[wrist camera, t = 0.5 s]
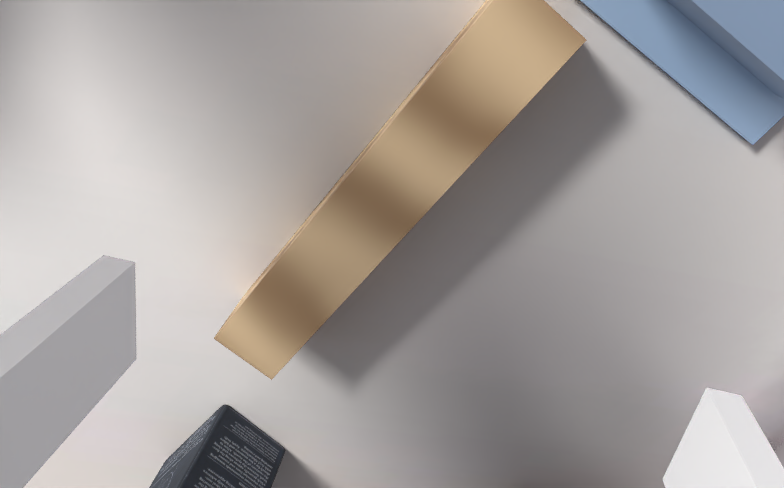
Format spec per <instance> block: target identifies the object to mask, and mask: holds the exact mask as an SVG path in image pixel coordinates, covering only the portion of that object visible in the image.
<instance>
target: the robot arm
mask: <svg viewBox="0 0 784 488" xmlns="http://www.w3.org/2000/svg"><path fill="white" fill-rule="evenodd" d="M135 360H136V297H135V262H132V261H127V260H123V259H118V258H113V257H109V256H104V255H103V256H102V257H101V258H99V259H98V260H97V261H95V262H94V263H93V264H92V265H90V266H89V267H88V268H86V269H85V270H84V271H83V272H81V273H80V274H79V275H77V276H76V277H75V278H73V279H72V280H71V281H70V282H68V283H67V284H66V285H64V286H63V287H62V288H60V289H59V290H58V291H57V292H55V293H54V294H53V295H51V296H50V297H49V298H48V299H46V300H45V301H44V302H42V303H41V304H40V305H38V306H37V307H36V308H35V309H33V310H32V311H31V312H29V313H28V314H27V315H25V316H24V317H23V318H22V319H20V320H19V321H18V322H16V323H15V324H14V325H12V326H11V327H10V328H9V329H7V330H6V331H5V332H3V333H2V334H1V335H0V488H23V487H24V486H25V485H26V484H27V483H28V481H29V480H30V479H31V478H32V477H33V476H34V475H35V474H36V472H37V471H38V470H39V469H40V468H41V467H42V466H43V464H44V463H45V462H46V461H47V460H48V459H49V458H50V456H51V455H52V454H53V453H54V452H55V451H56V450H57V449H58V447H59V446H60V445H61V444H62V443H63V442H64V441H65V439H66V438H67V437H68V436H69V435H70V434H71V433H72V431H73V430H74V429H75V428H76V427H77V426H78V425H79V424H80V422H81V421H82V420H83V419H84V418H85V417H86V416H87V414H88V413H89V412H90V411H91V410H92V409H93V408H94V406H95V405H96V404H97V403H98V402H99V401H100V400H101V399H102V397H103V396H104V395H105V394H106V393H107V392H108V391H109V389H110V388H111V387H112V386H113V385H114V384H115V383H116V381H117V380H118V379H119V378H120V377H121V376H122V375H123V374H124V372H125V371H126V370H127V369H128V368H129V367H130V366H131V364H132V363H133V362H134V361H135ZM663 482H664V485H665V488H784V468H783V466H782V464H781V463H780V461H779V459H778V457H777V456H776V454H775V452H774V450H773V449H772V447H771V445H770V443H769V442H768V440H767V438H766V437H765V435H764V433H763V431H762V430H761V428H760V426H759V424H758V423H757V421H756V419H755V418H754V416H753V414H752V412H751V411H750V409H749V407H748V405H747V404H746V402H745V400H744V398H743V397H742V395H738V394H734V393H729V392H725V391H720V390H716V389H711V388H706V389H705V391H704V394H703V396H702V398H701V400H700V402H699V404H698V406H697V408H696V410H695V412H694V414H693V417H692V419H691V421H690V423H689V425H688V427H687V429H686V431H685V433H684V435H683V437H682V439H681V442H680V444H679V446H678V448H677V450H676V452H675V454H674V456H673V458H672V460H671V462H670V465H669V467H668V469H667V471H666V473H665V475H664V477H663Z"/></svg>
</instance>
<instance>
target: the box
mask: <svg viewBox="0 0 784 488" xmlns="http://www.w3.org/2000/svg"><path fill="white" fill-rule="evenodd" d="M284 452H285V449H284V448H283V447H282V446H281V445H279V444H278V443H277V442H276V441H274V440H273V439H272V438H270V437H269V436H267V435H266V434H265V433H264V432H262V431H261V430H260V429H258V428H257V427H256V426H254V425H253V424H252V423H250V422H249V421H248V420H246V419H245V418H244V417H242V416H241V415H240V414H238V413H237V412H236V411H234V410H233V409H232V408H230V407H229V406H227V405H223V406H221V407H220V408H219V409H218V410H217V411H216V412H215V413H214V414H213V415H212V416H211V417H210V418H209V419H208V420H207V421H206V422H205V423H204V424H203V425H202V426H201V427H200V428H198V430H196V431H195V432H194V433H193V434H192V435H191V436H190V437H189V438H188V439H187V440H186V441H185V442H184V443H183V444H182V445H181V446H180V447H179V448H178V449H177V450H176V451H175V452H174V453H173V454H172V455H171V456H170V457H169V458H168V459H167V460H166V461H165V462H164V464H163V466H162V467H161V469H160V471H159V472H158V474H157V476H156V477H155V479H154V481H153V482H152V484H151V486H150V487H149V488H271V487H272V483H273V481H274V479H275V476H276V473H277V471H278V468H279V465H280V463H281V460H282V458H283V455H284Z"/></svg>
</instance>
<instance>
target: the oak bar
mask: <svg viewBox="0 0 784 488" xmlns="http://www.w3.org/2000/svg"><path fill="white" fill-rule="evenodd" d="M585 41H586V39H585V38H584V37H583V36H582V35H581V34H580V33H579V32H577V31H576V30H575V29H574V28H573V27H572V26H571V25H570V24H569V23H568V22H567V21H566V20H565V19H563V18H562V17H561V16H560V15H559V14H558V13H557V12H556V11H555V10H554V9H553V8H552V7H550V6H549V5H548V4H547V3H546V2H545V1H544V0H486V1H485V3H484V4H483V5H482V6H481V8H480V9H479V10H478V11H477V12H476V14H475V15H474V16H473V17H472V18H471V20H470V21H469V22H468V23H467V25H466V26H465V27H464V28H463V29H462V31H461V32H460V33H459V34H458V36H457V37H456V38H455V39H454V40H453V42H452V43H451V44H450V45H449V46H448V48H447V49H446V50H445V51H444V53H443V54H442V55H441V56H440V57H439V59H438V60H437V61H436V62H435V64H434V65H433V66H432V67H431V68H430V70H429V71H428V72H427V73H426V74H425V76H424V77H423V78H422V79H421V81H420V82H419V83H418V84H417V85H416V87H415V88H414V89H413V90H412V92H411V93H410V94H409V95H408V96H407V98H406V99H405V100H404V101H403V102H402V104H401V105H400V106H399V107H398V109H397V110H396V111H395V112H394V113H393V115H392V116H391V117H390V118H389V120H388V121H387V122H386V123H385V124H384V126H383V127H382V128H381V129H380V130H379V132H378V133H377V134H376V135H375V137H374V138H373V139H372V140H371V141H370V143H369V144H368V145H367V146H366V148H365V149H364V150H363V151H362V152H361V154H360V155H359V156H358V157H357V158H356V160H355V161H354V162H353V163H352V165H351V166H350V167H349V168H348V169H347V171H346V172H345V173H344V174H343V176H342V177H341V178H340V179H339V180H338V182H337V183H336V184H335V185H334V186H333V188H332V189H331V190H330V191H329V193H328V194H327V195H326V196H325V197H324V199H323V200H322V201H321V202H320V204H319V205H318V206H317V207H316V208H315V210H314V211H313V212H312V213H311V214H310V216H309V217H308V218H307V219H306V221H305V222H304V223H303V224H302V225H301V227H300V228H299V229H298V230H297V232H296V233H295V234H294V235H293V236H292V238H291V239H290V240H289V241H288V242H287V244H286V245H285V246H284V247H283V249H282V250H281V251H280V252H279V253H278V255H277V256H276V257H275V258H274V260H273V261H272V262H271V263H270V264H269V266H268V267H267V268H266V269H265V270H264V272H263V273H262V274H261V275H260V277H259V278H258V279H257V280H256V281H255V283H254V284H253V285H252V286H251V288H250V289H249V290H248V291H247V292H246V294H245V295H244V296H243V297H242V299H241V300H240V302H239V303H238V304H237V306H236V307H235V309H234V310H233V312H232V313H231V314H230V316H229V317H228V319H227V320H226V322H225V323H224V324H223V326H222V327H221V329H220V330H219V332H218V333H217V334H216V336H215V337H214V339H215V340H217V341H218V342H219V343H221V344H222V345H224V346H225V347H226V348H228V349H229V350H231V351H232V352H233V353H235V354H236V355H238V356H239V357H240V358H242V359H243V360H245V361H246V362H247V363H249V364H250V365H252V366H253V367H254V368H256V369H257V370H259V371H260V372H261V373H263V374H264V375H266V376H267V377H269V378H270V379H271V380H272V379H273V378H274V377H275V375H276V374H277V373H278V372H279V371H280V370H281V369H282V368H283V367H284V366H285V365H286V364H287V363H288V361H289V360H290V359H291V358H292V357H293V356H294V355H295V354H296V353H297V352H298V351H299V350H300V349H301V347H302V346H303V345H304V344H305V343H306V342H307V341H308V340H309V339H310V338H311V337H312V336H313V335H314V333H315V332H316V331H317V330H318V329H319V328H320V327H321V326H322V325H323V324H324V323H325V322H326V320H327V319H328V318H329V317H330V316H331V315H332V314H333V313H334V312H335V311H336V310H337V309H338V308H339V306H340V305H341V304H342V303H343V302H344V301H345V300H346V299H347V298H348V297H349V296H350V295H351V294H352V292H353V291H354V290H355V289H356V288H357V287H358V286H359V285H360V284H361V283H362V282H363V281H364V279H365V278H366V277H367V276H368V275H369V274H370V273H371V272H372V271H373V270H374V269H375V268H376V267H377V265H378V264H379V263H380V262H381V261H382V260H383V259H384V258H385V257H386V256H387V255H388V254H389V253H390V251H391V250H392V249H393V248H394V247H395V246H396V245H397V244H398V243H399V242H400V241H401V240H402V239H403V237H404V236H405V235H406V234H407V233H408V232H409V231H410V230H411V229H412V228H413V227H414V226H415V224H416V223H417V222H418V221H419V220H420V219H421V218H422V217H423V216H424V215H425V214H426V213H427V212H428V210H429V209H430V208H431V207H432V206H433V205H434V204H435V203H436V202H437V201H438V200H439V199H440V198H441V196H442V195H443V194H444V193H445V192H446V191H447V190H448V189H449V188H450V187H451V186H452V185H453V184H454V182H455V181H456V180H457V179H458V178H459V177H460V176H461V175H462V174H463V173H464V172H465V171H466V169H467V168H468V167H469V166H470V165H471V164H472V163H473V162H474V161H475V160H476V159H477V158H478V157H479V155H480V154H481V153H482V152H483V151H484V150H485V149H486V148H487V147H488V146H489V145H490V144H491V143H492V141H493V140H494V139H495V138H496V137H497V136H498V135H499V134H500V133H501V132H502V131H503V130H504V129H505V127H506V126H507V125H508V124H509V123H510V122H511V121H512V120H513V119H514V118H515V117H516V116H517V114H518V113H519V112H520V111H521V110H522V109H523V108H524V107H525V106H526V105H527V104H528V103H529V102H530V100H531V99H532V98H533V97H534V96H535V95H536V94H537V93H538V92H539V91H540V90H541V89H542V88H543V86H544V85H545V84H546V83H547V82H548V81H549V80H550V79H551V78H552V77H553V76H554V75H555V74H556V72H557V71H558V70H559V69H560V68H561V67H562V66H563V65H564V64H565V63H566V62H567V61H568V59H569V58H570V57H571V56H572V55H573V54H574V53H575V52H576V51H577V50H578V49H579V48H580V47H581V45H582V44H583V43H584V42H585Z"/></svg>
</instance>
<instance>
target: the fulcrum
mask: <svg viewBox="0 0 784 488" xmlns="http://www.w3.org/2000/svg"><path fill="white" fill-rule="evenodd" d="M580 1H581V2H582V3H583V4H585V5H586V6H587V7H588V8H589V9H591V10H592V11H593V12H594V13H595V14H597V15H598V16H599V17H600V18H601V19H602V20H604V21H605V22H606V23H607V24H608V25H610V26H611V27H612V28H613V29H614V30H616V31H617V32H618V33H619V34H620V35H622V36H623V37H624V38H625V39H626V40H627V41H629V42H630V43H631V44H632V45H633V46H635V47H636V48H637V49H638V50H639V51H641V52H642V53H643V54H644V55H645V56H647V57H648V58H649V59H650V60H651V61H652V62H654V63H655V64H656V65H657V66H658V67H660V68H661V69H662V70H663V71H664V72H666V73H667V74H668V75H669V76H670V77H672V78H673V79H674V80H675V81H676V82H677V83H679V84H680V85H681V86H682V87H683V88H685V89H686V90H687V91H688V92H689V93H691V94H692V95H693V96H694V97H695V98H697V99H698V100H699V101H700V102H701V103H702V104H704V105H705V106H706V107H707V108H708V109H710V110H711V111H712V112H713V113H714V114H716V115H717V116H718V117H719V118H720V119H722V120H723V121H724V122H725V123H726V124H727V125H729V126H730V127H731V128H732V129H733V130H735V131H736V132H737V133H738V134H739V135H741V136H742V137H743V138H744V139H745V140H747V141H748V142H749V143H751V144H752V145H753V144H755V143H756V142H757V141H758V140H759V139H760V138H761V137H762V136H763V135H764V134H765V133H766V132H767V131H768V130H769V129H771V128H772V127H773V126H774V125H775V124H776V123H777V122H778V121H779V120H780V119H781V118H782V117H783V116H784V0H580Z"/></svg>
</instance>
